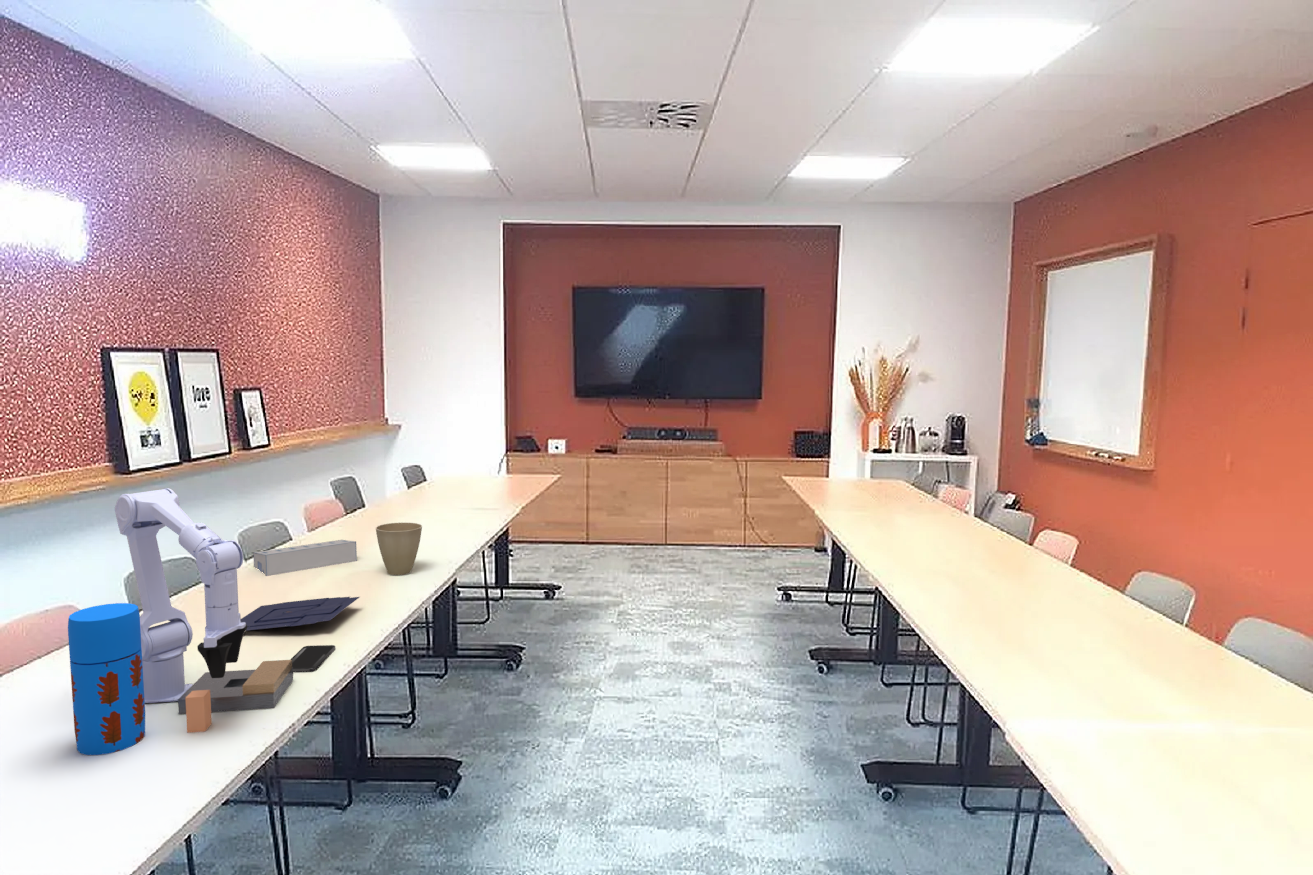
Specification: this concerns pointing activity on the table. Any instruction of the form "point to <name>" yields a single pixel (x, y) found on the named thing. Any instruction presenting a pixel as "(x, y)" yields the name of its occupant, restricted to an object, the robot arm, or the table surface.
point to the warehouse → (305, 557)
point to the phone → (311, 658)
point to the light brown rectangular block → (198, 711)
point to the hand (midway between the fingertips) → (224, 669)
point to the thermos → (107, 678)
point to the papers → (296, 612)
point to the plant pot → (399, 546)
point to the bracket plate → (234, 692)
